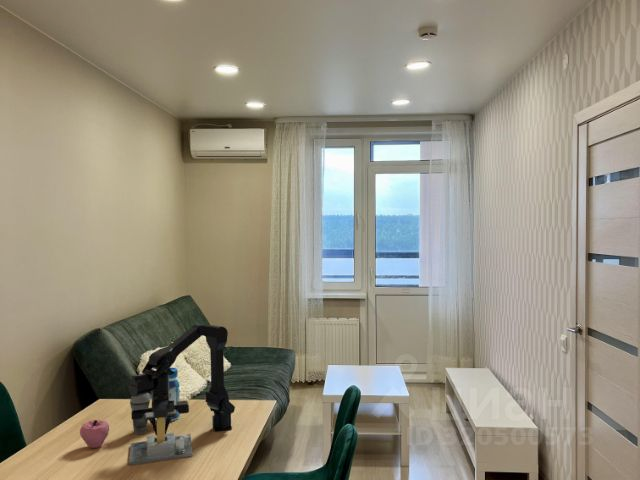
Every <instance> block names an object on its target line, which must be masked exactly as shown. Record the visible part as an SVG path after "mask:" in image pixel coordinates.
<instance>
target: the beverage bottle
mask: <svg viewBox="0 0 640 480" xmlns="http://www.w3.org/2000/svg"><path fill="white" fill-rule="evenodd" d="M170 369H171V370H172V371H173V372H174V374H172V375H169V401H173V400H174V405H176V403H177V401H181V400H180V394H181V390H180V382H179V380H178V373H179V372H178V368H177V367H170ZM175 413H176V416H175V417H172V419H171V421H170V422H173V421H176V420H178V419H179V418H180V416H181V414H179V413H178V412H177V410H176V412H175ZM165 420H166V417H165Z"/></svg>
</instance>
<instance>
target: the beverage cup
mask: <svg viewBox="0 0 640 480" xmlns="http://www.w3.org/2000/svg"><path fill="white" fill-rule="evenodd" d="M149 395H150V394H149V393H146V394H143V395H139V396H135V397H133V396H131V397H130V400H129V401H130V402H129V405H130V408H131V410H132V408H133V407H134V406H142V405H144V408H150V402H151V399H150V398H151V397H150V396H149ZM148 421H149V420H146V415H145V414H144V416H143V417H142V418H141V419H132V426H133V427H132V428H133V433H134V434H136V435H141V434H145V433H147V431H148V430H147V429H148Z"/></svg>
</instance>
